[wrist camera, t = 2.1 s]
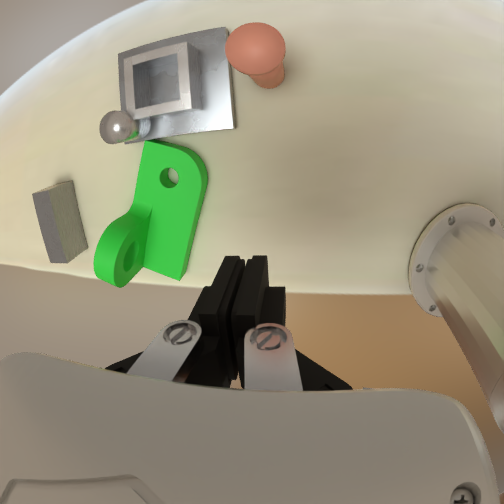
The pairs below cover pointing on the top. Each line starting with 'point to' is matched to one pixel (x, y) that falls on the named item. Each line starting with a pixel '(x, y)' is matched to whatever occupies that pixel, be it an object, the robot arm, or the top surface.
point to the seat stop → (60, 222)
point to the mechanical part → (155, 217)
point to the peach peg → (257, 53)
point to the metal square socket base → (173, 89)
